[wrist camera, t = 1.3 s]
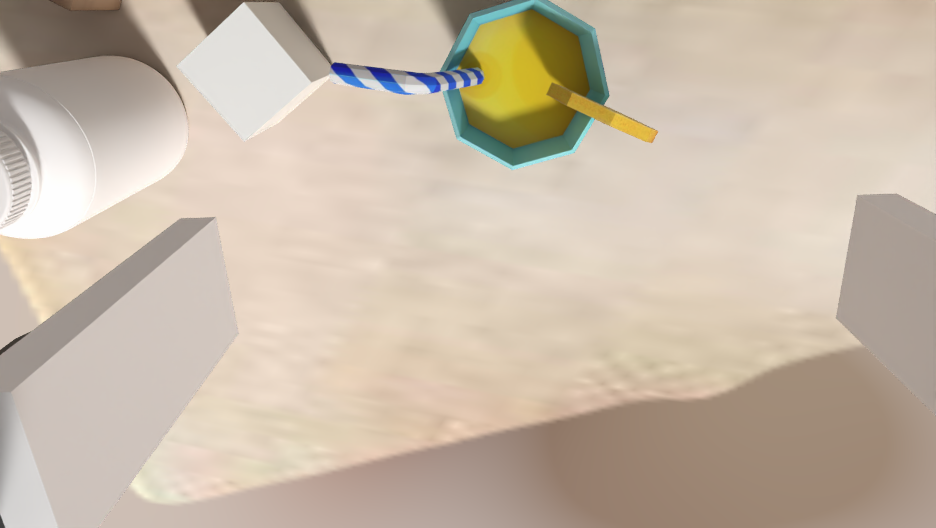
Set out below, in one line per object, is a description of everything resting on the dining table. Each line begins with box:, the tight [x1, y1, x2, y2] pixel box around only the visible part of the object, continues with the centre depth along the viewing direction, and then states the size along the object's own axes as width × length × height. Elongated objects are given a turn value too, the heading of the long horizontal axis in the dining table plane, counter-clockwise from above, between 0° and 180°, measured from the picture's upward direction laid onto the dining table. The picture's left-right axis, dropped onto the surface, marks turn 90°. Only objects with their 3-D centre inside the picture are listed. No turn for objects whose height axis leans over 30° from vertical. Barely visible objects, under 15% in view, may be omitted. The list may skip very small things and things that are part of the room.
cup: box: [329, 0, 658, 170], centre depth 34 cm, size 14×8×15 cm, turn 84°
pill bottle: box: [0, 56, 189, 239], centre depth 36 cm, size 8×8×15 cm
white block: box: [177, 2, 331, 142], centre depth 38 cm, size 5×5×6 cm
